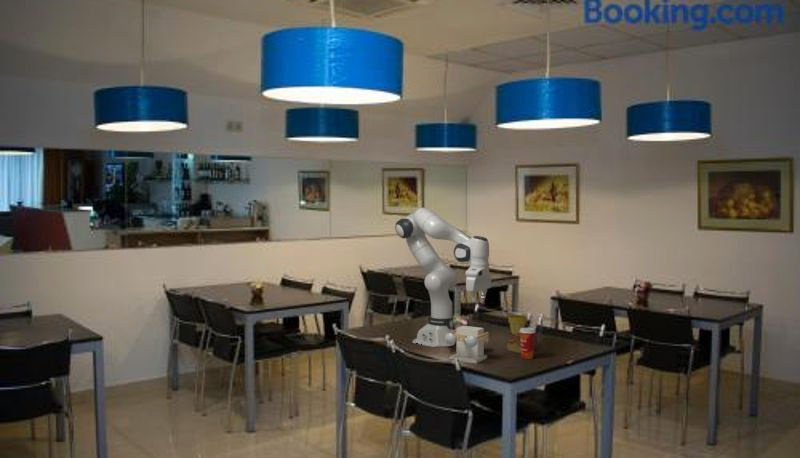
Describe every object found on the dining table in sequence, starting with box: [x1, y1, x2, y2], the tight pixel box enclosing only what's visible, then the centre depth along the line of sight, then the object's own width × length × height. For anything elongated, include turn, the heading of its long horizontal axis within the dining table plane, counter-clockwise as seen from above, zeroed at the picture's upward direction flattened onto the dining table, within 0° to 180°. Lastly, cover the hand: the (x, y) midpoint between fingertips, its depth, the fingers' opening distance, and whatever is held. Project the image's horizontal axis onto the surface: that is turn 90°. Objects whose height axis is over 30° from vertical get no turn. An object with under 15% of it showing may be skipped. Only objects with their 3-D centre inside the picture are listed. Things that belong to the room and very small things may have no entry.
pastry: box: [506, 333, 521, 354], centre depth 336 cm, size 13×15×8 cm
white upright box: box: [448, 325, 488, 364], centre depth 314 cm, size 18×14×14 cm
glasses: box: [445, 328, 490, 347], centre depth 313 cm, size 16×14×5 cm
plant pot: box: [507, 314, 528, 335], centre depth 374 cm, size 10×10×10 cm
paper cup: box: [519, 327, 536, 360], centre depth 318 cm, size 8×8×14 cm
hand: (478, 299), depth 314 cm, fingers open, 8 cm apart
